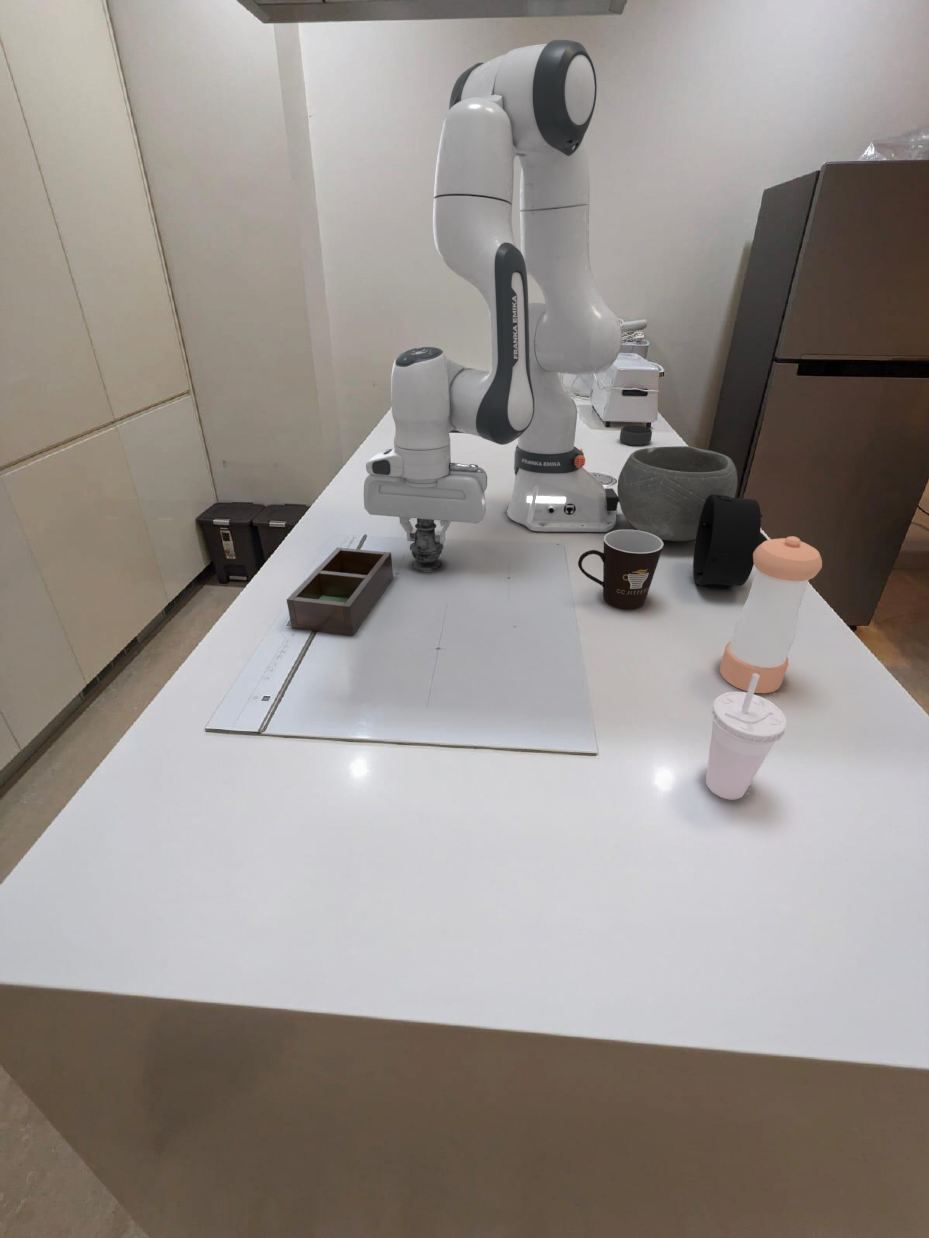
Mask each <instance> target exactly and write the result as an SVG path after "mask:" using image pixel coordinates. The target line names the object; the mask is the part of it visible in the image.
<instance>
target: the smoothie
mask: <svg viewBox="0 0 929 1238" xmlns="http://www.w3.org/2000/svg"><path fill="white" fill-rule="evenodd" d="M758 679H759V674H756V673H754V674H753V675H752V678H751V681H750V685H749V688H748V691H728V692H724V693H722V694H720V695H718V696H717V697H716V698H715V699H714V701H713V703H712V704H713V705H712V707H711V709H710V717H711V719H712V724H711V734H710V741H709V742H710V744H709V750H708V751H709V752H708V758H707V768H706V775H705V784H706V786H707V788H708V789H709V791H710V792H711V793H713V795H716V796H717V797H720V798H721V799H724V800H730V801H735V800H739V799H741V798H742V797H744V795H745V793H746V792H747V790H748V788H749V786H750V785H751V783H752V782H753V780H754V778H755V777H756V775H757V774H758V771H759V770H760V768H761V766H762V765H763V763H764V762H765V760H766V758H767V756H768V755H769V753H770V751H772V748H773V746H774V745H775V743H776V742H777V741H780V740H781V739H782V738H784V737H783V736H784V735H785V731H786V728H787V723H788V722H787V718H786V715H785V714H784V712H783V711H782V709H780V707H779V706H777V705H776V704H775V703H773V702H772V701H770V700H769V699H767V698H765V697H762V696H760V695H757V694H755V693H754V691H755V688H756V685H757V682H758Z"/></svg>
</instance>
